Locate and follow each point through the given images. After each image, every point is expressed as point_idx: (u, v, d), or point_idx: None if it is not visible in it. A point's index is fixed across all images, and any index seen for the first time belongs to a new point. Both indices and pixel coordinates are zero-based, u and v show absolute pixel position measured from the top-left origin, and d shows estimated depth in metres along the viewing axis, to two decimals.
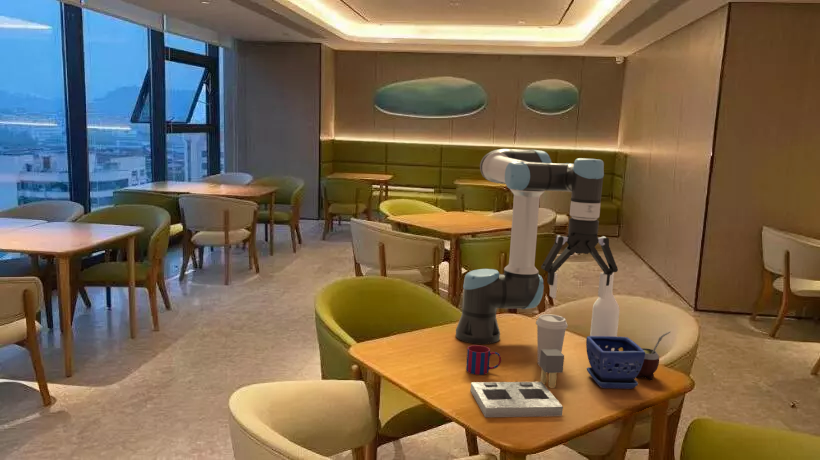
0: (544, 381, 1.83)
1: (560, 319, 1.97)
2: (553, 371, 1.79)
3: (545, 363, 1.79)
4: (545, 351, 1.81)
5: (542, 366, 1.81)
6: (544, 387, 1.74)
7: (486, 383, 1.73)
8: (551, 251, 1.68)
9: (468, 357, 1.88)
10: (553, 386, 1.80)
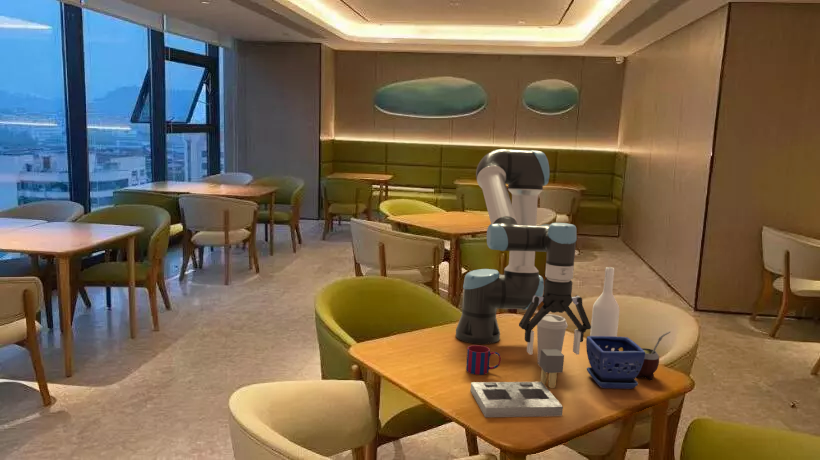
0: (544, 381, 1.83)
1: (560, 319, 1.97)
2: (553, 371, 1.79)
3: (545, 363, 1.79)
4: (545, 351, 1.81)
5: (542, 366, 1.81)
6: (544, 387, 1.74)
7: (486, 383, 1.73)
8: (527, 310, 1.78)
9: (468, 357, 1.88)
10: (553, 386, 1.80)
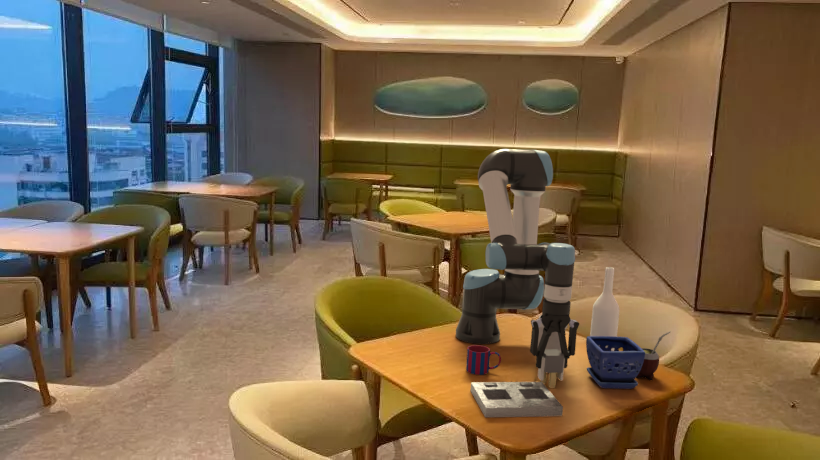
0: (544, 381, 1.83)
1: None
2: (553, 371, 1.79)
3: (545, 363, 1.79)
4: (545, 351, 1.81)
5: None
6: (544, 387, 1.74)
7: (486, 383, 1.73)
8: (532, 336, 1.80)
9: (468, 357, 1.88)
10: (553, 386, 1.80)
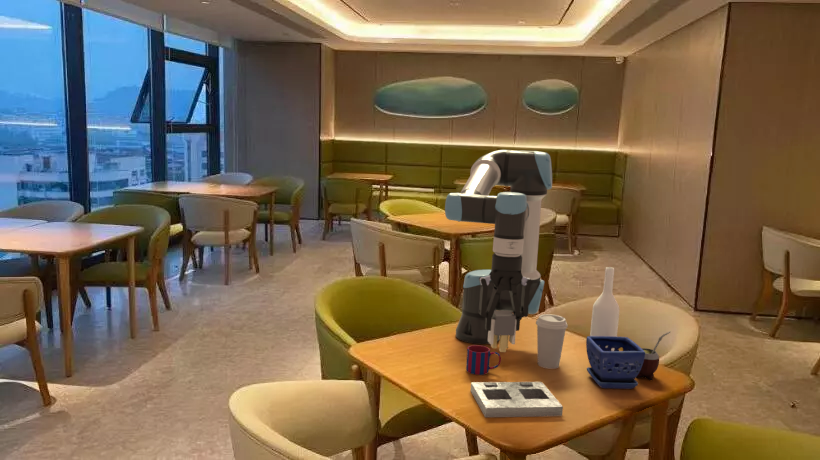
0: (495, 346, 1.66)
1: (560, 319, 1.97)
2: (504, 333, 1.62)
3: (495, 325, 1.62)
4: (495, 312, 1.64)
5: None
6: (544, 387, 1.74)
7: (486, 383, 1.73)
8: (480, 295, 1.63)
9: (468, 357, 1.88)
10: (504, 350, 1.63)
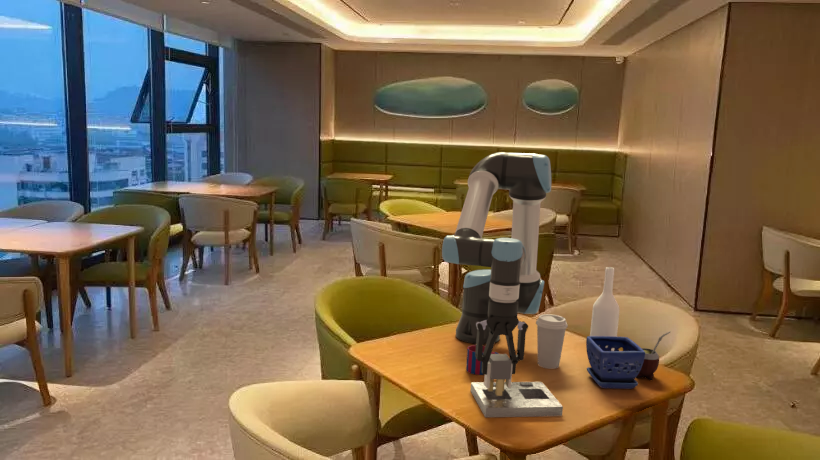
0: (491, 389, 1.67)
1: (560, 319, 1.97)
2: (500, 378, 1.64)
3: (491, 369, 1.64)
4: (492, 356, 1.66)
5: None
6: (544, 387, 1.74)
7: None
8: (477, 339, 1.65)
9: (468, 357, 1.88)
10: (500, 394, 1.65)
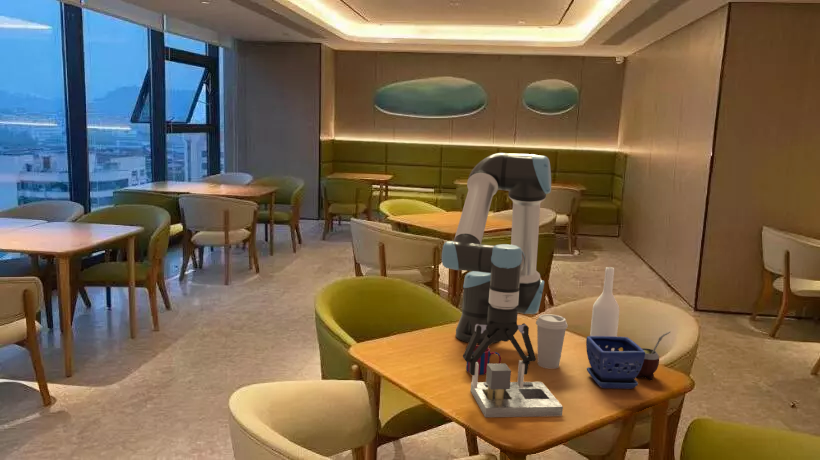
0: (491, 398, 1.68)
1: (560, 319, 1.97)
2: (499, 387, 1.64)
3: (490, 379, 1.64)
4: (491, 366, 1.67)
5: (488, 382, 1.67)
6: (544, 387, 1.74)
7: (486, 383, 1.73)
8: (470, 340, 1.64)
9: None
10: None
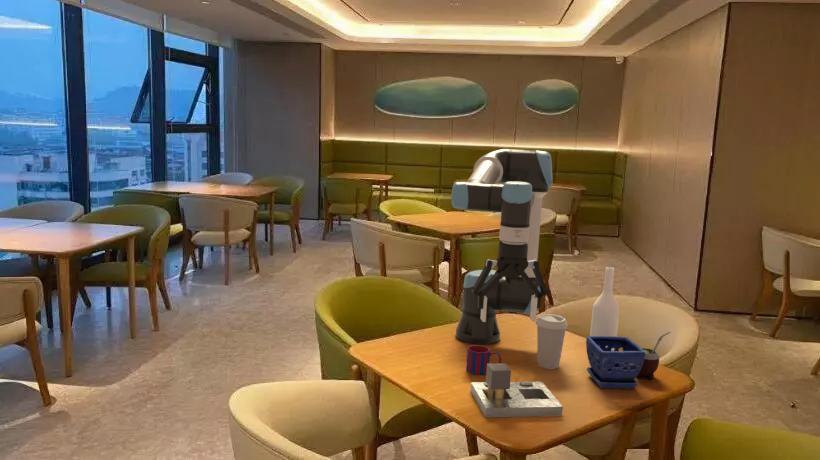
0: (491, 398, 1.68)
1: (560, 319, 1.97)
2: (499, 387, 1.64)
3: (490, 379, 1.64)
4: (491, 366, 1.67)
5: (488, 382, 1.67)
6: (544, 387, 1.74)
7: (486, 383, 1.73)
8: (480, 275, 1.67)
9: (468, 357, 1.88)
10: None
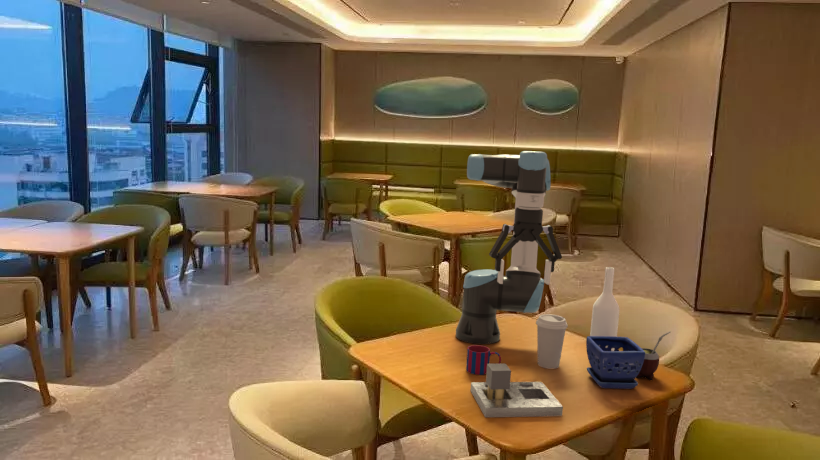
0: (491, 398, 1.68)
1: (560, 319, 1.97)
2: (499, 387, 1.64)
3: (490, 379, 1.64)
4: (491, 366, 1.67)
5: (488, 382, 1.67)
6: (544, 387, 1.74)
7: (486, 383, 1.73)
8: (498, 239, 1.77)
9: (468, 357, 1.88)
10: None
